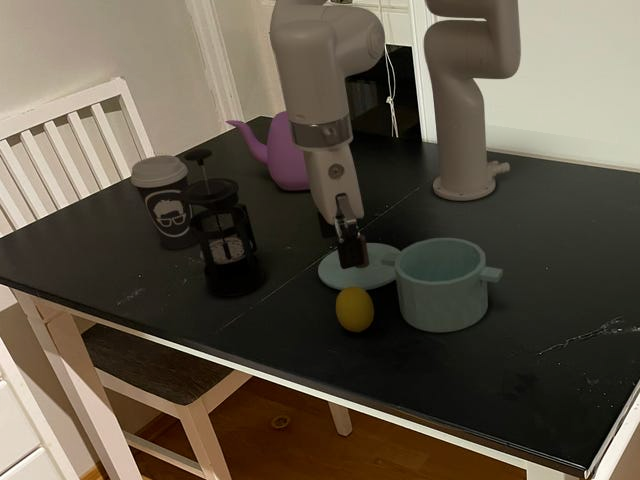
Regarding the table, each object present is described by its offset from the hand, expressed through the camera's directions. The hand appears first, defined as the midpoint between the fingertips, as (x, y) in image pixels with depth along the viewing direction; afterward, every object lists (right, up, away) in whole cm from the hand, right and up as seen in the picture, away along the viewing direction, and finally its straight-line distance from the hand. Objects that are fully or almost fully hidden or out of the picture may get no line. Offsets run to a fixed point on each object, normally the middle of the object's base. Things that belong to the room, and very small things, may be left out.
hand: (342, 250), depth 102 cm
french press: (-22, -2, +22) cm, 31 cm away
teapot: (-17, +23, +54) cm, 61 cm away
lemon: (+1, -11, +9) cm, 14 cm away
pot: (+14, -7, +13) cm, 20 cm away
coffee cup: (-36, +7, +35) cm, 51 cm away
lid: (-1, 0, +23) cm, 23 cm away
